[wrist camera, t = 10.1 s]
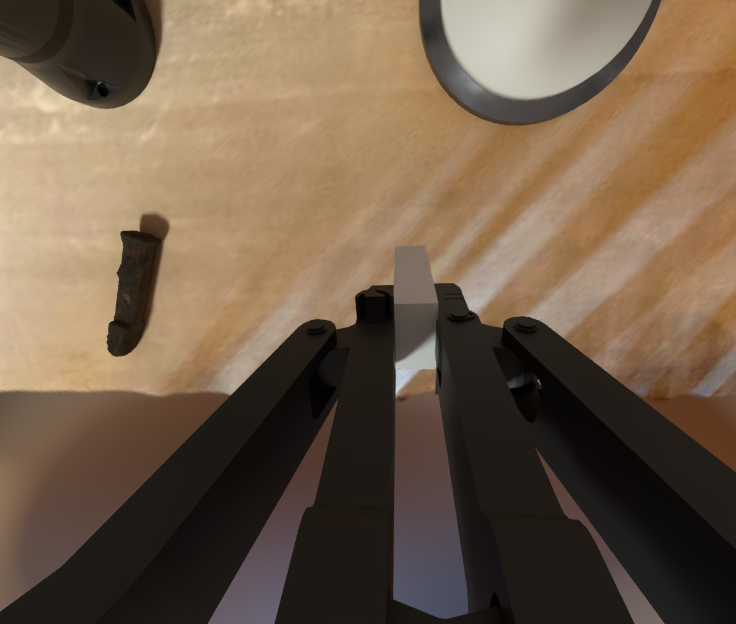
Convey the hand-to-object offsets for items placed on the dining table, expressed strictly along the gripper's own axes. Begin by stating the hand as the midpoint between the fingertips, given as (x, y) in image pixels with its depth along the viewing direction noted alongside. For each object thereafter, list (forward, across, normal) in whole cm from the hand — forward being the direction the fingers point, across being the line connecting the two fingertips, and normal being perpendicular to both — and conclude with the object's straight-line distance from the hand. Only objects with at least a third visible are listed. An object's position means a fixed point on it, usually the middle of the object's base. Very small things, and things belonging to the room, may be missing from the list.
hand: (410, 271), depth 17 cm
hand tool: (+25, -38, -12) cm, 47 cm away
